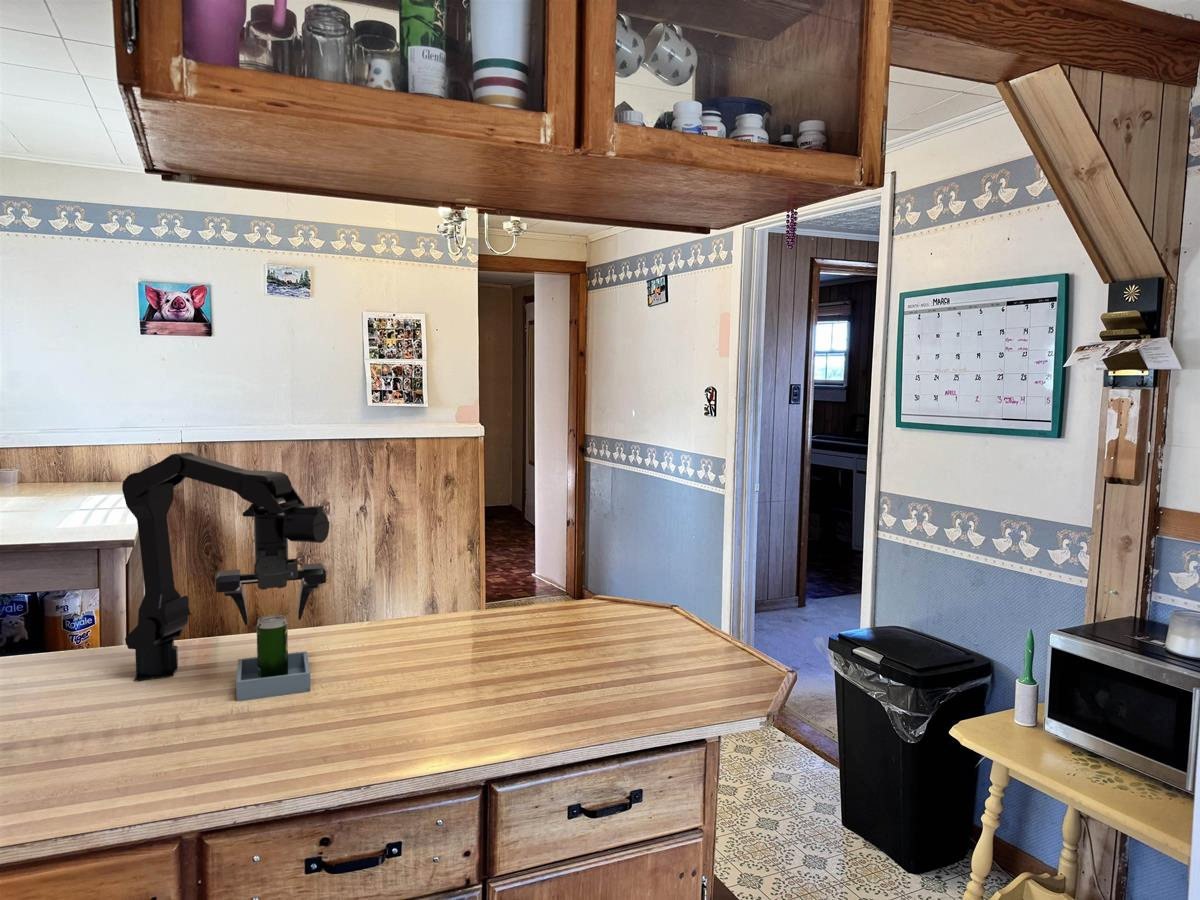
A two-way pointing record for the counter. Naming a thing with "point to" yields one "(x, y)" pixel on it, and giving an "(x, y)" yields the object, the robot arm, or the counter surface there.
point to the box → (272, 678)
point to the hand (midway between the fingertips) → (273, 622)
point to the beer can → (272, 646)
